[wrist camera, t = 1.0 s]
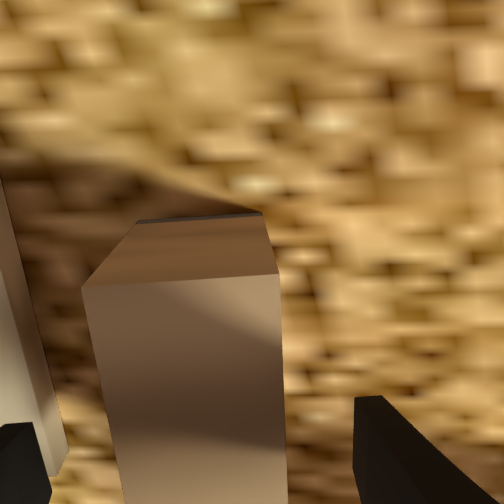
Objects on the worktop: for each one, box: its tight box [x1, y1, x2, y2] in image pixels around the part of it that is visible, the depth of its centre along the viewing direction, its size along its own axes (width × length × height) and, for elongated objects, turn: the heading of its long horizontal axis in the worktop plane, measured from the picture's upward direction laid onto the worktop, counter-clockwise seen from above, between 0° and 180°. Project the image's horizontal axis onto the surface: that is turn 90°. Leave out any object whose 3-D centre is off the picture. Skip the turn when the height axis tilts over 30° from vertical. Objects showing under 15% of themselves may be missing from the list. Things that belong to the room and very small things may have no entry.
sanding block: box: [81, 212, 288, 504], centre depth 12 cm, size 8×4×6 cm, turn 3°
